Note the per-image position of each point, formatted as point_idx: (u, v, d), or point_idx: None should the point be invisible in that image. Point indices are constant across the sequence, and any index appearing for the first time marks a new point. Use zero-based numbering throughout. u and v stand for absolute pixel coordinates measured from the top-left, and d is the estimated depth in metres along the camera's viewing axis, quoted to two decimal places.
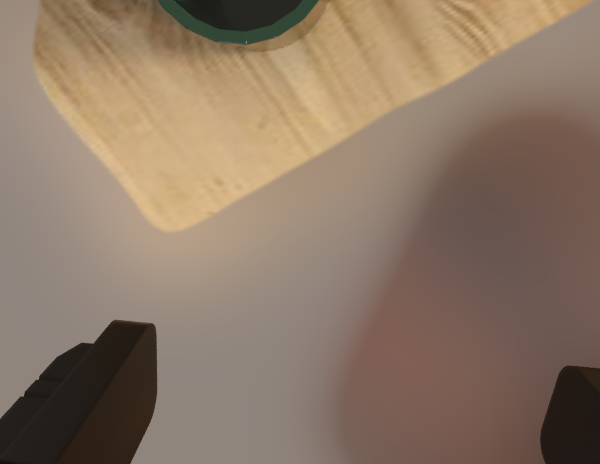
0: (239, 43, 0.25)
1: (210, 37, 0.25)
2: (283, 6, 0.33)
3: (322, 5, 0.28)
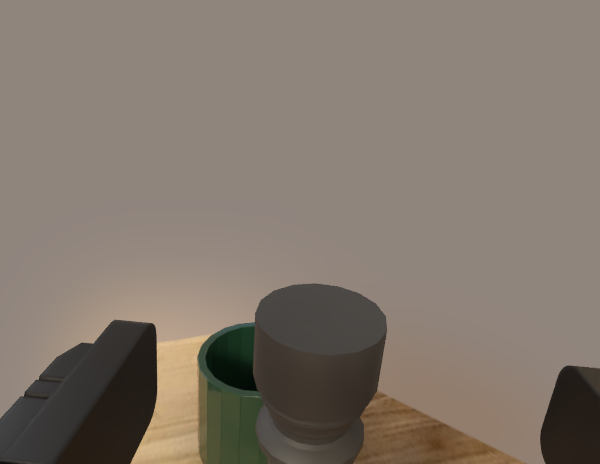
0: (204, 343, 0.43)
1: (214, 334, 0.44)
2: None
3: (206, 417, 0.40)
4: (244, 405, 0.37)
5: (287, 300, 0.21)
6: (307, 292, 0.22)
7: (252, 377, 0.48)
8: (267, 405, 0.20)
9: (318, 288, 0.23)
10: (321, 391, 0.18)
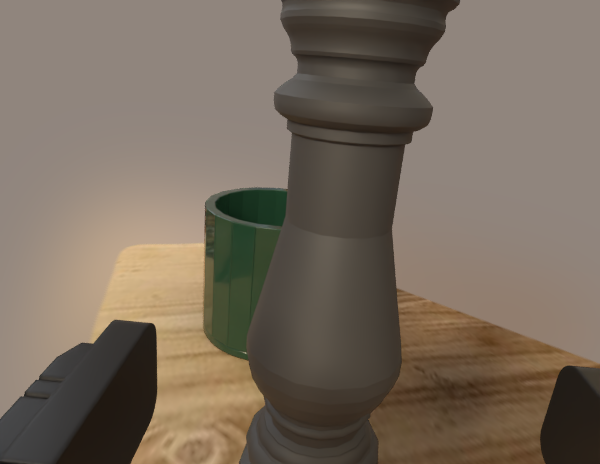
0: None
1: None
2: None
3: (213, 268, 0.33)
4: (259, 241, 0.30)
5: None
6: None
7: None
8: (294, 12, 0.14)
9: None
10: None
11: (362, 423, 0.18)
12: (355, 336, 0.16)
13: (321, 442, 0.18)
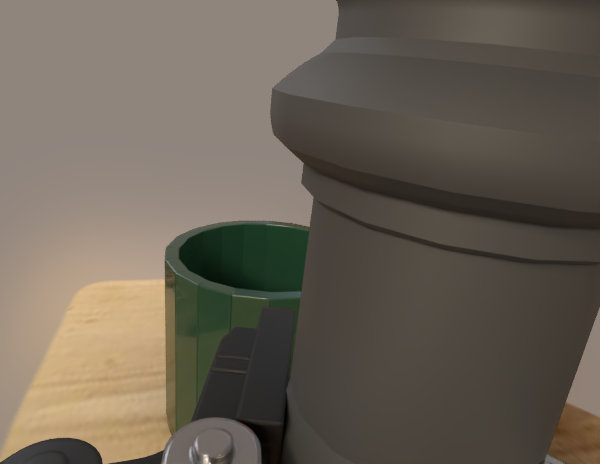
0: (181, 234, 0.26)
1: (199, 227, 0.28)
2: None
3: (174, 345, 0.23)
4: (237, 314, 0.20)
5: None
6: None
7: None
8: None
9: None
10: None
11: None
12: None
13: None
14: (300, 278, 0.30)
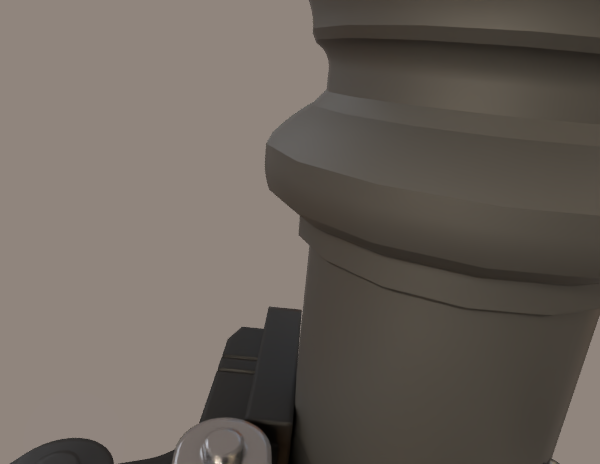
0: None
1: None
2: None
3: None
4: None
5: None
6: None
7: None
8: None
9: None
10: None
11: None
12: None
13: None
14: None
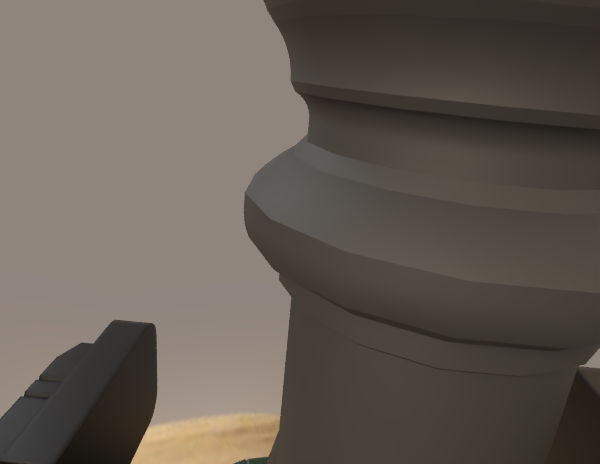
0: None
1: None
2: None
3: None
4: None
5: None
6: None
7: None
8: None
9: None
10: None
11: None
12: None
13: None
14: None
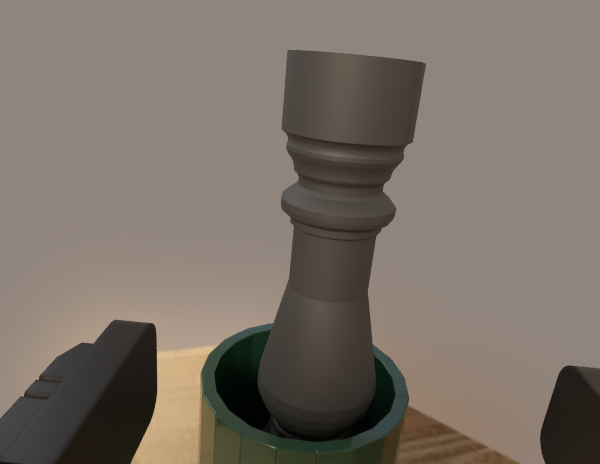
0: (213, 350, 0.26)
1: (230, 337, 0.27)
2: None
3: None
4: None
5: None
6: None
7: None
8: (301, 151, 0.19)
9: None
10: (366, 105, 0.17)
11: (348, 432, 0.24)
12: (347, 371, 0.22)
13: None
14: None
